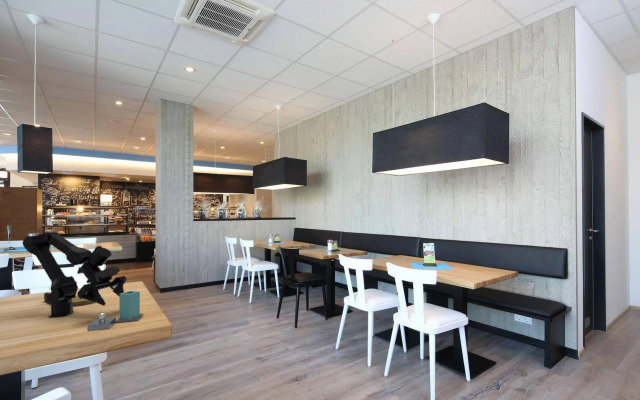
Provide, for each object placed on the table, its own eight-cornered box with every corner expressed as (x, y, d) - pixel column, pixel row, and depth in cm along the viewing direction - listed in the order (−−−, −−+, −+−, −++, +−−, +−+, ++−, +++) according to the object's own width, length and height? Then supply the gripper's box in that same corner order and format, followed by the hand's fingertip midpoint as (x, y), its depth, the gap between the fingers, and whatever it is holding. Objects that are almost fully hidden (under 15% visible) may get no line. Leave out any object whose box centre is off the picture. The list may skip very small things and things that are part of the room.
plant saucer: (57, 309, 148) (57, 303, 148) (71, 300, 162) (71, 295, 162) (94, 305, 152) (93, 299, 152) (105, 297, 166) (105, 292, 166)
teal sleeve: (119, 319, 127) (119, 293, 128) (129, 315, 132) (129, 290, 133) (129, 319, 126) (129, 294, 127) (139, 315, 131) (139, 291, 131)
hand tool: (62, 306, 152) (62, 296, 153) (51, 307, 149) (51, 297, 150) (52, 300, 164) (52, 291, 165) (42, 301, 161) (42, 292, 161)
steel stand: (87, 330, 117) (87, 317, 117) (95, 324, 123) (95, 311, 124) (109, 328, 119) (109, 315, 119) (115, 322, 125) (115, 309, 125)
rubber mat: (115, 323, 124) (115, 321, 124) (121, 317, 132) (121, 315, 132) (137, 320, 126) (137, 319, 126) (143, 314, 134) (143, 313, 134)
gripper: (83, 264, 124) (105, 294, 121) (123, 257, 142) (144, 283, 139) (67, 283, 126) (89, 313, 123) (109, 274, 144) (129, 300, 141)
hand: (114, 301), depth 131 cm, fingers open, 9 cm apart
